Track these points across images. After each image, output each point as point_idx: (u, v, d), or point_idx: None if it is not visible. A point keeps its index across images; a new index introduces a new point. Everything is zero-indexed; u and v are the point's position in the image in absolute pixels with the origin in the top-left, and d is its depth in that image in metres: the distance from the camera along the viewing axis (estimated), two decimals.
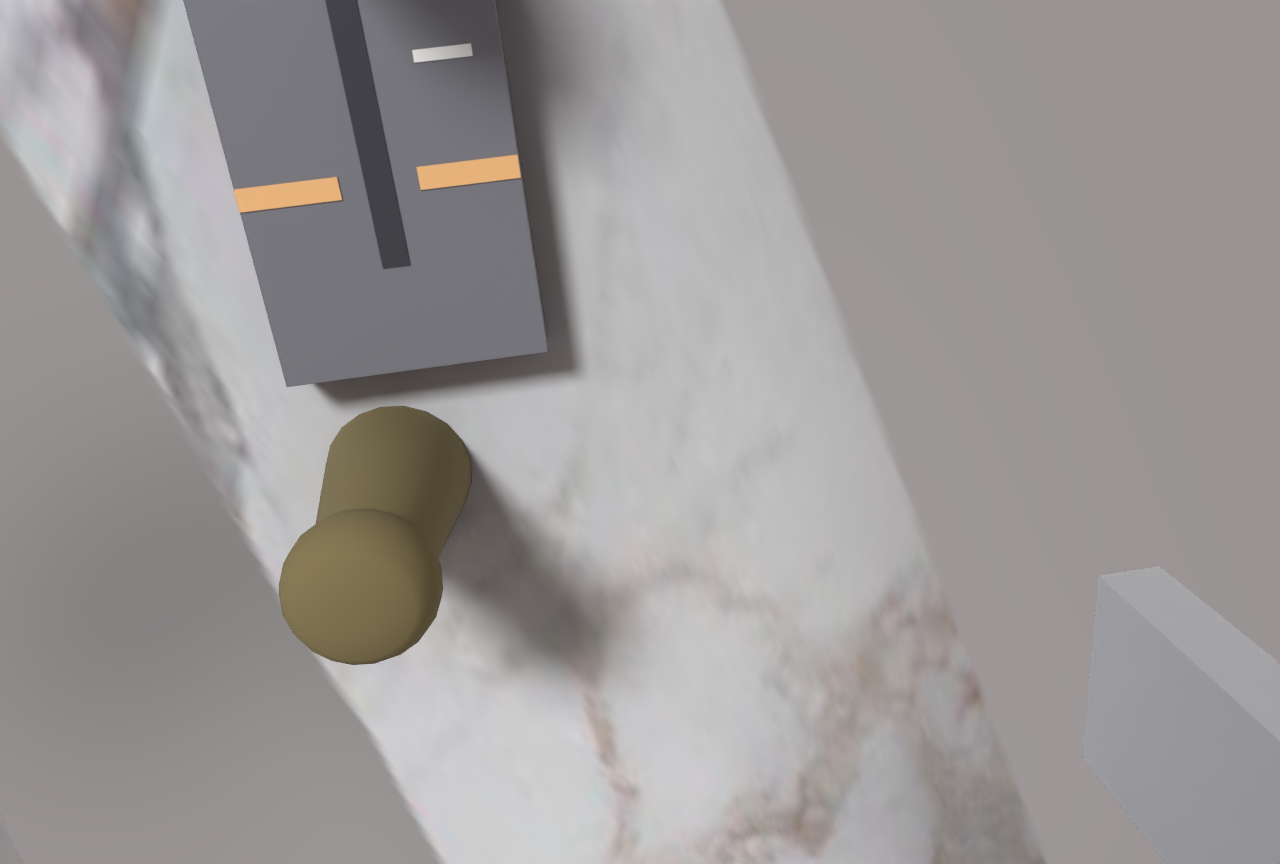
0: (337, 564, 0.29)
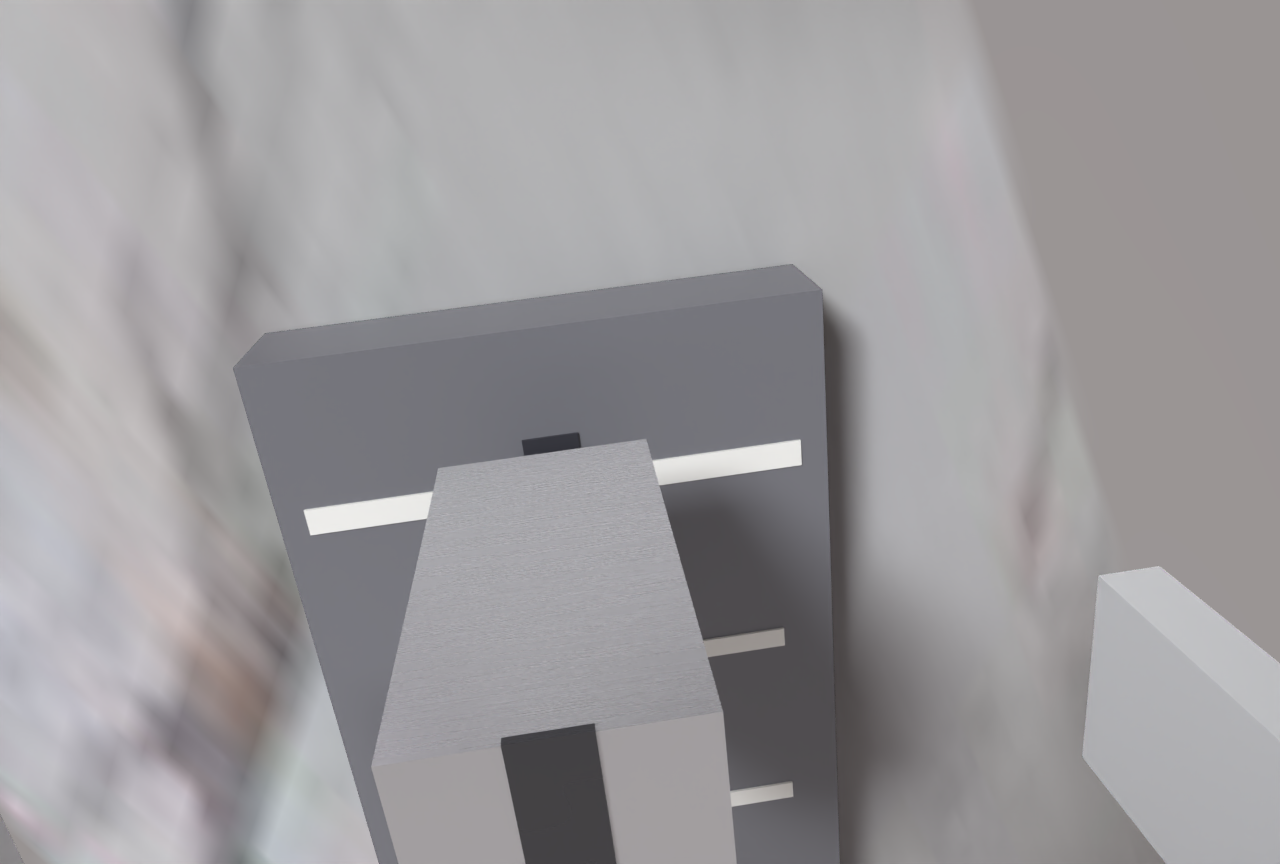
0: None
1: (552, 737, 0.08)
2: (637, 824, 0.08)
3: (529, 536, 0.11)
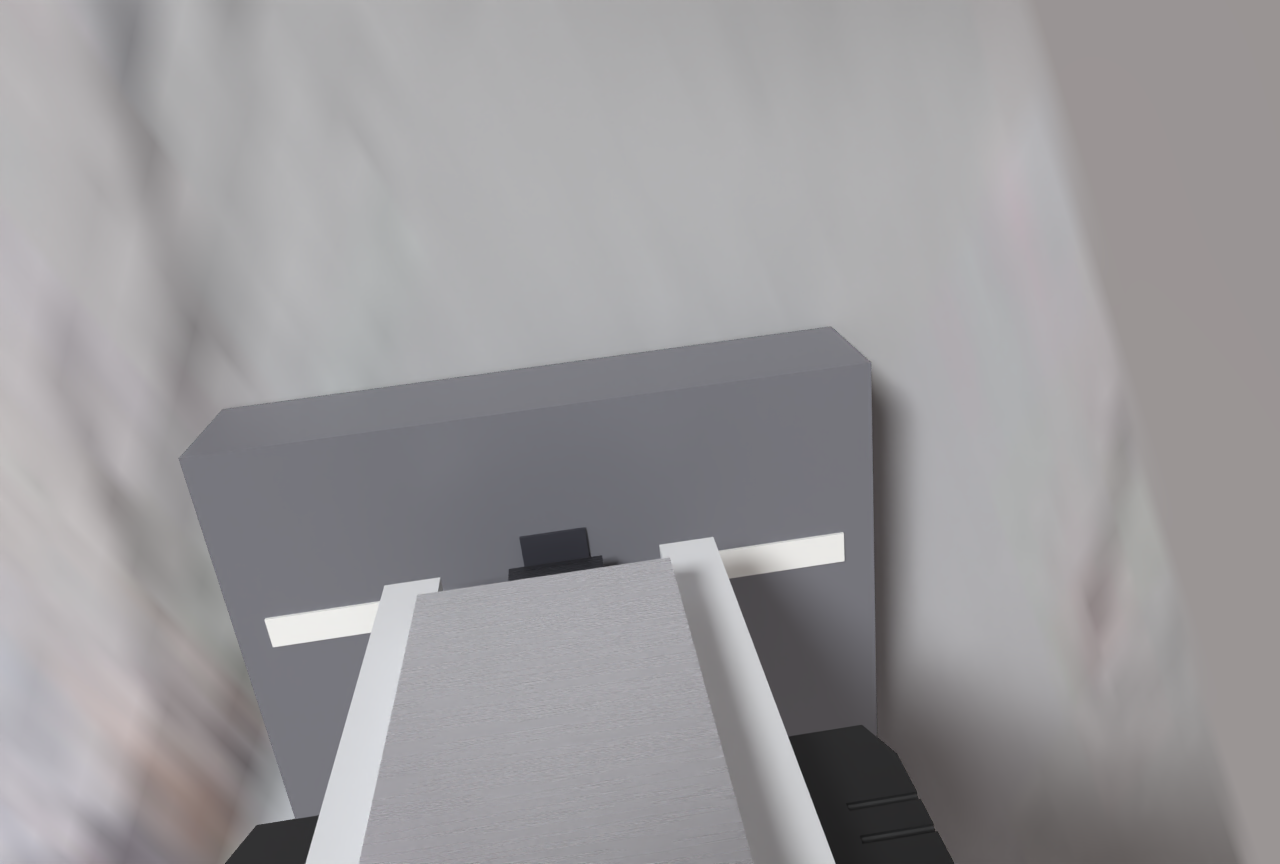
0: None
1: None
2: None
3: (528, 709, 0.09)
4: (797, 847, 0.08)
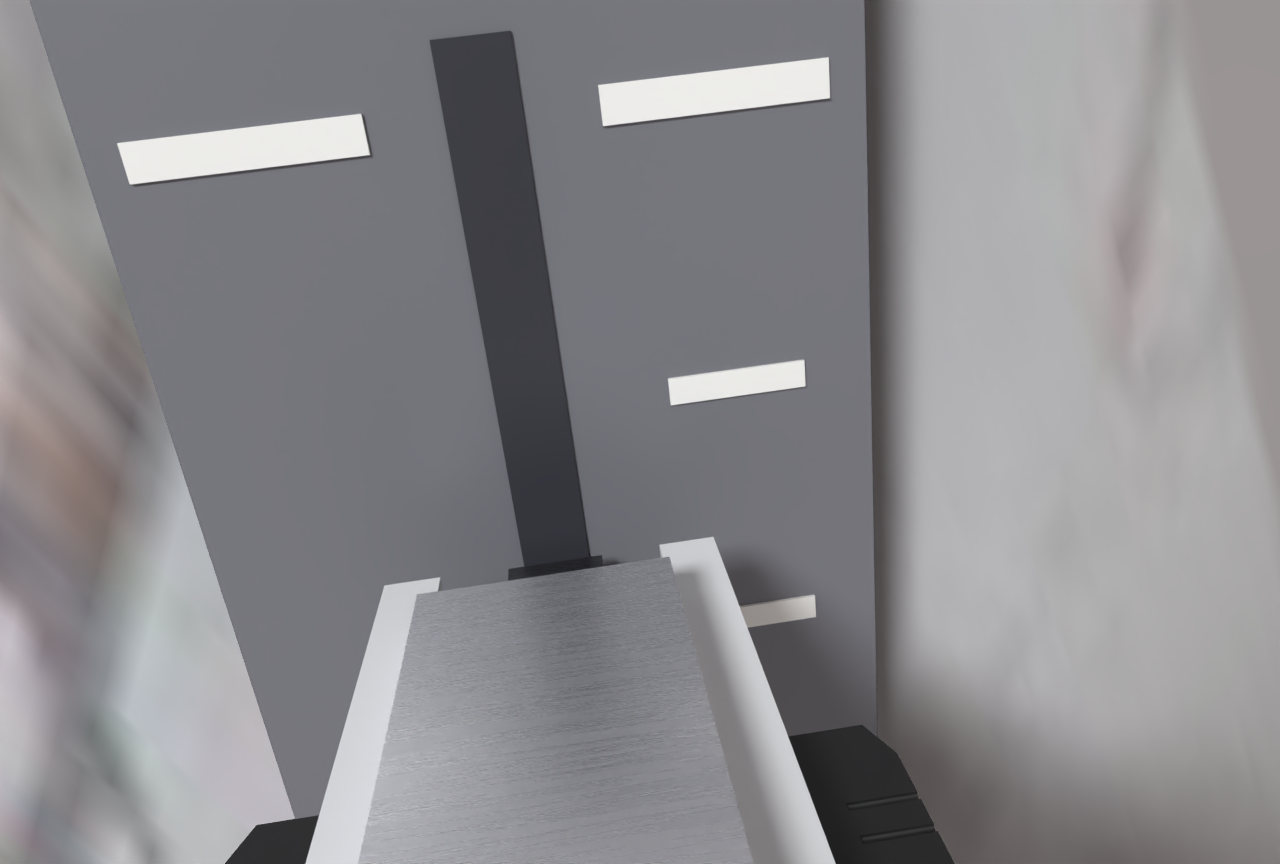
0: None
1: None
2: None
3: (528, 709, 0.09)
4: (797, 847, 0.08)
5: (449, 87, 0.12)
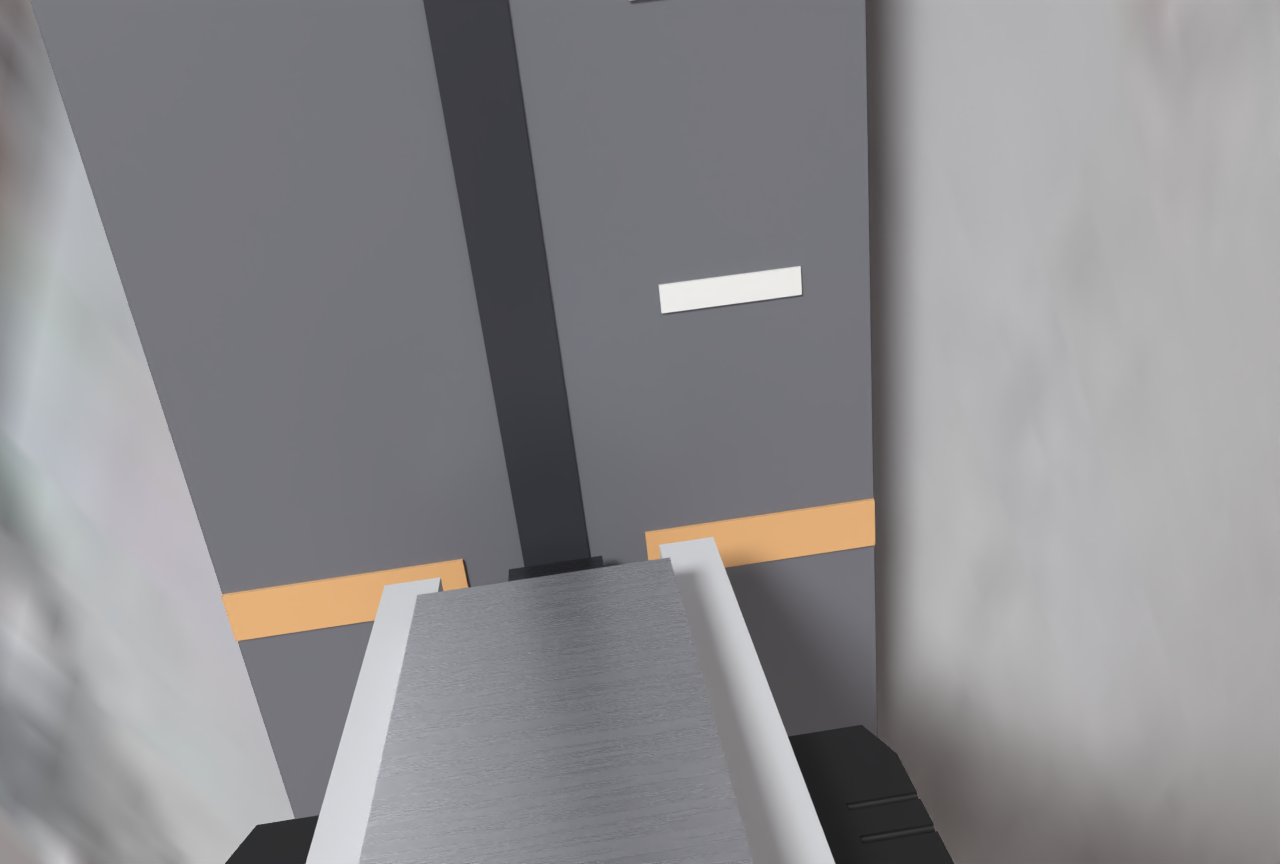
0: None
1: None
2: None
3: (528, 709, 0.09)
4: (797, 847, 0.08)
5: None
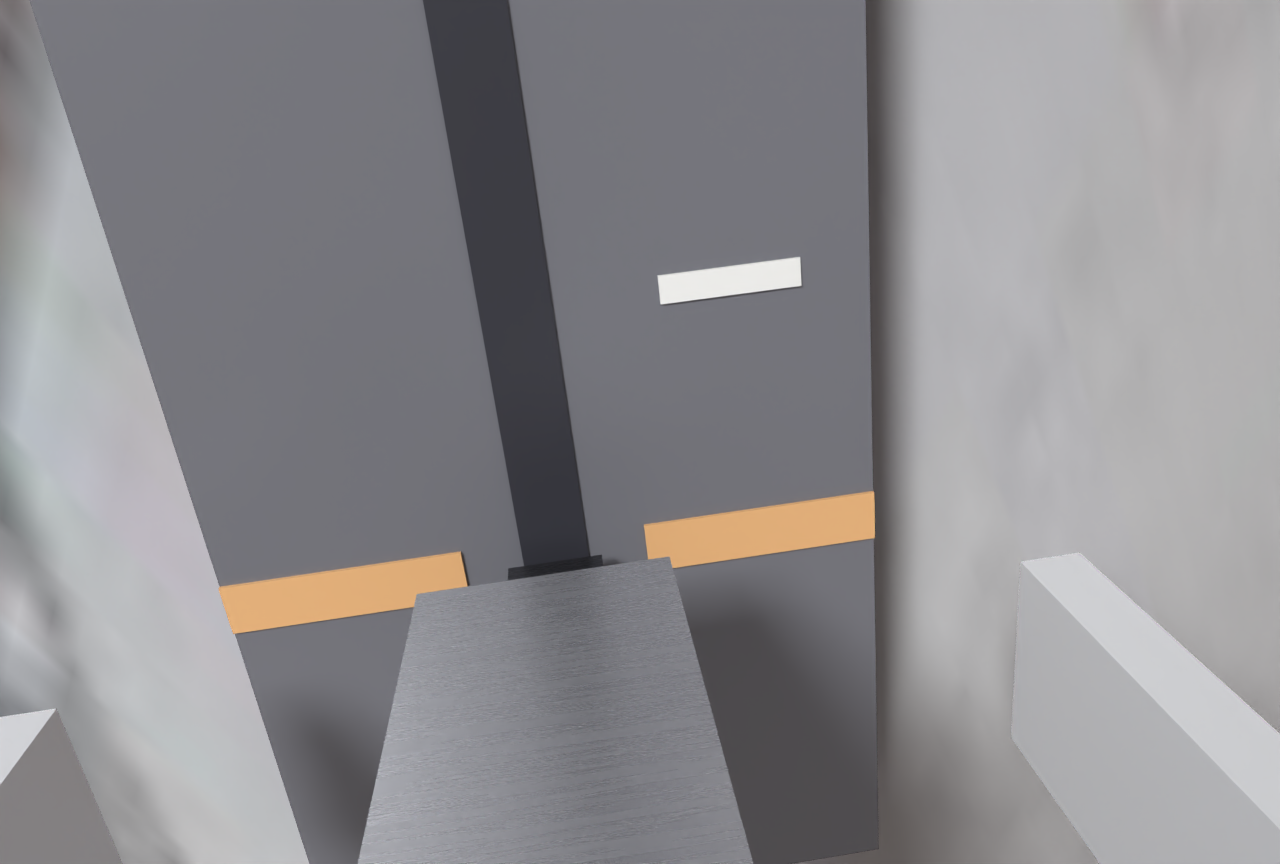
0: None
1: None
2: None
3: (527, 708, 0.09)
4: None
5: None
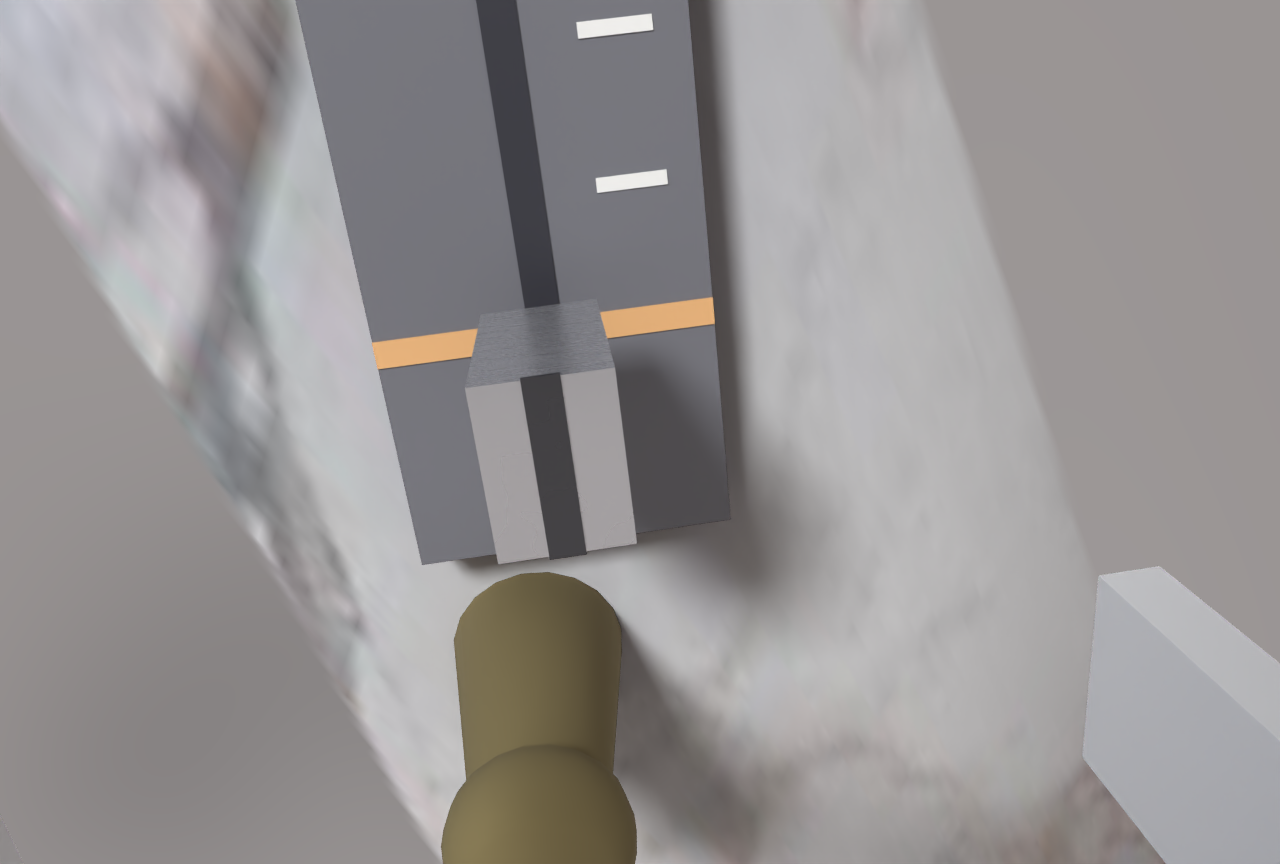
0: (525, 836, 0.23)
1: (541, 376, 0.19)
2: (579, 424, 0.19)
3: (531, 332, 0.22)
4: None
5: None
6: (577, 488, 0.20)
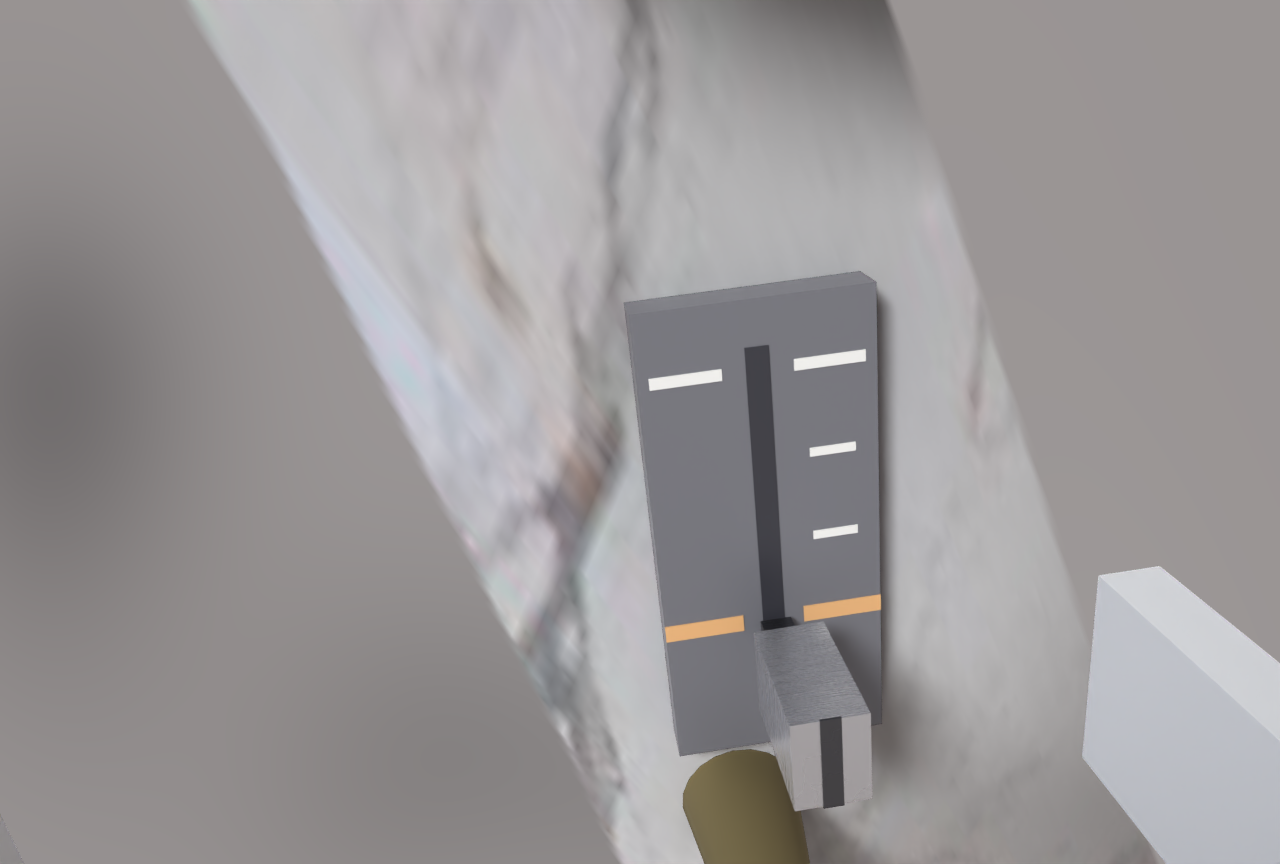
0: None
1: (831, 719, 0.34)
2: (848, 741, 0.34)
3: (799, 661, 0.37)
4: None
5: (747, 360, 0.38)
6: (843, 771, 0.35)
